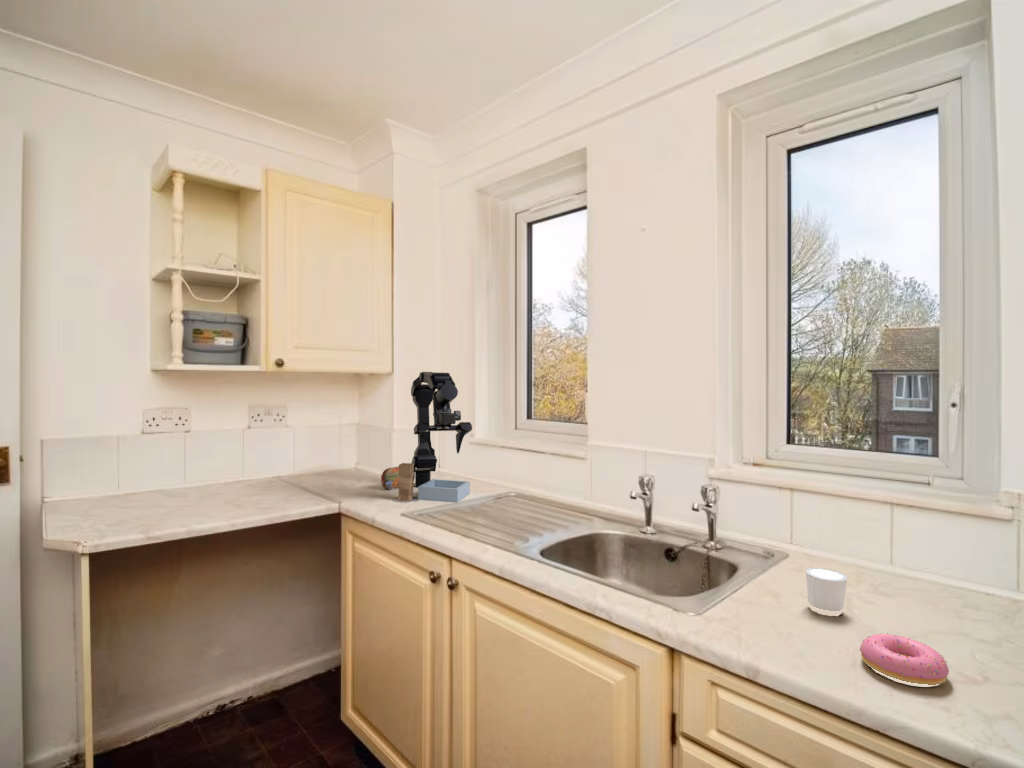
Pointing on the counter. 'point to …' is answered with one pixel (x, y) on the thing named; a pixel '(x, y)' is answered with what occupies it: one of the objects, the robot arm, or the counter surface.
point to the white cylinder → (826, 588)
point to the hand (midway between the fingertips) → (444, 453)
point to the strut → (406, 481)
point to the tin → (391, 478)
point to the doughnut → (904, 659)
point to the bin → (444, 490)
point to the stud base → (405, 501)
